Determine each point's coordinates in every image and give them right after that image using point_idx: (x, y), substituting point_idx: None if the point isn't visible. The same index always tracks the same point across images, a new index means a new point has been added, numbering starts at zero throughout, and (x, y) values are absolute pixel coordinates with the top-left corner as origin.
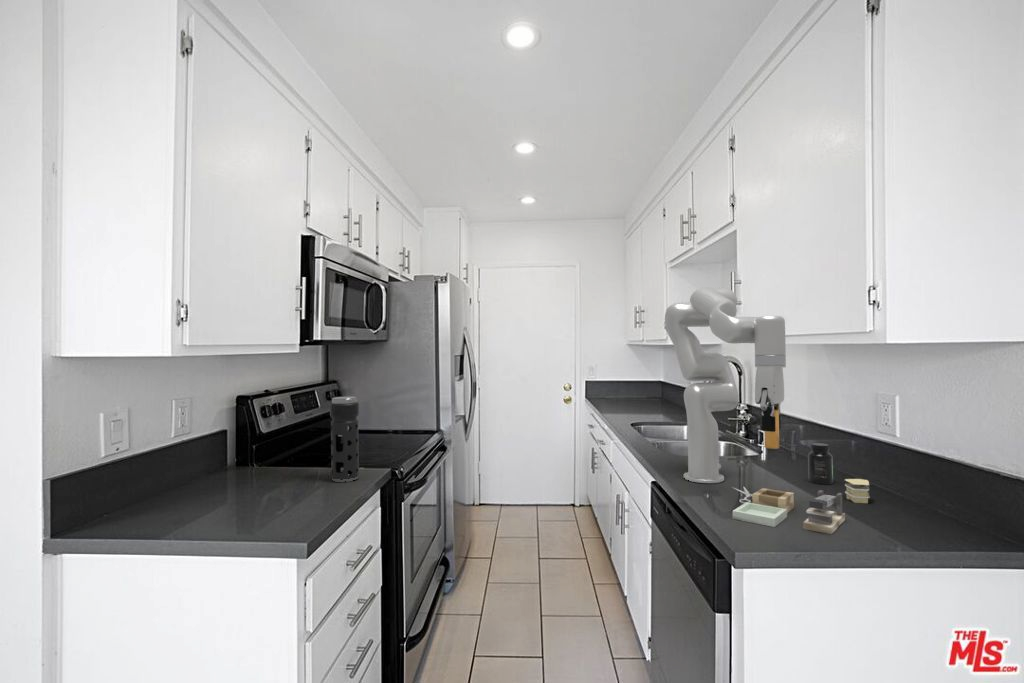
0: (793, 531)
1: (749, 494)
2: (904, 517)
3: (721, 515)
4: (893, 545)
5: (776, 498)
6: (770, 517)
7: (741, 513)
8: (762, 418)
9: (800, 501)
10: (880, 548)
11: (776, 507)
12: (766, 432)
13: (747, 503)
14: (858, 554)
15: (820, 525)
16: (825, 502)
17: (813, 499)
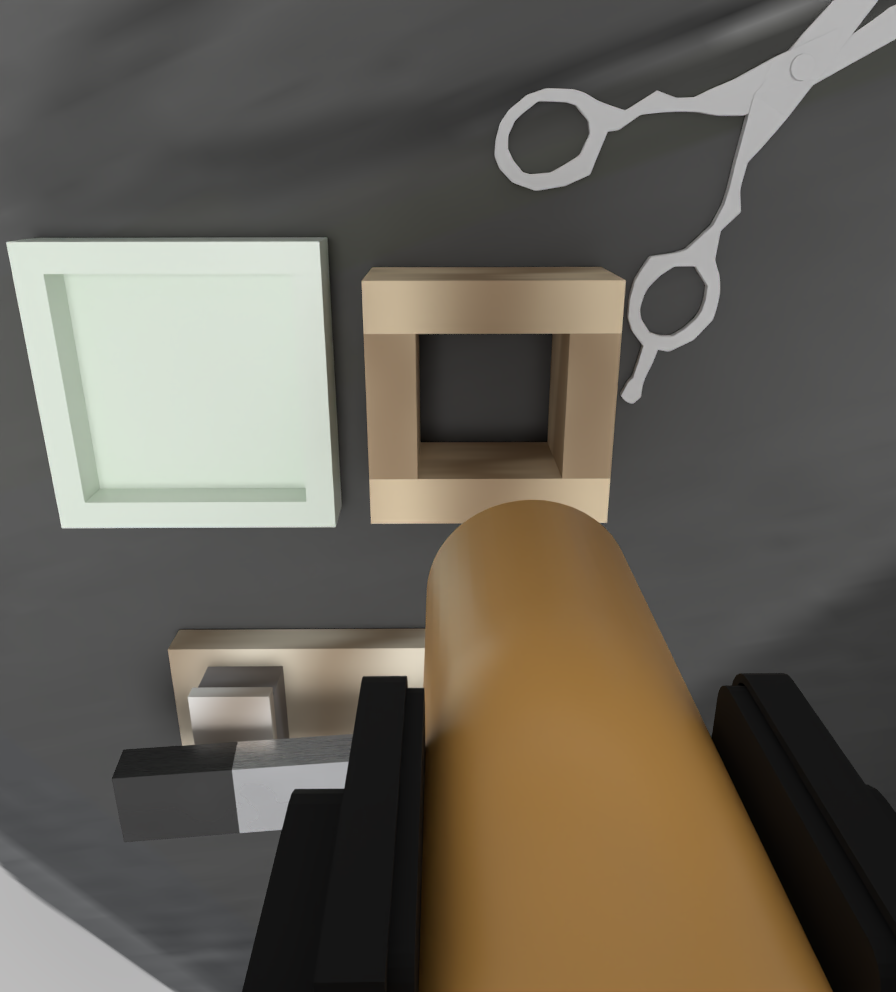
0: (94, 603)
1: (777, 94)
2: None
3: (48, 134)
4: (239, 939)
5: (369, 468)
6: (67, 502)
7: (24, 310)
8: (327, 910)
9: (787, 470)
10: (157, 913)
11: (329, 462)
12: (434, 696)
13: (285, 261)
14: (5, 869)
15: (185, 725)
16: (196, 832)
17: (198, 775)
